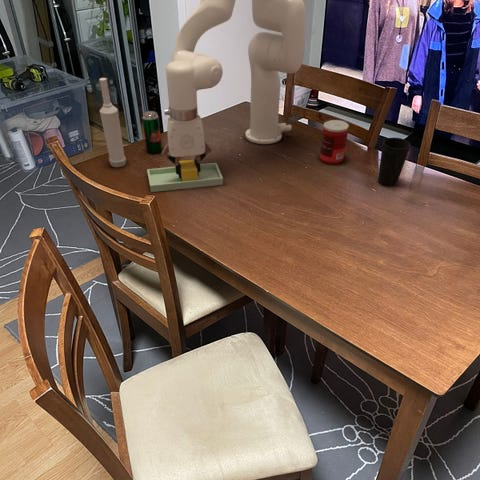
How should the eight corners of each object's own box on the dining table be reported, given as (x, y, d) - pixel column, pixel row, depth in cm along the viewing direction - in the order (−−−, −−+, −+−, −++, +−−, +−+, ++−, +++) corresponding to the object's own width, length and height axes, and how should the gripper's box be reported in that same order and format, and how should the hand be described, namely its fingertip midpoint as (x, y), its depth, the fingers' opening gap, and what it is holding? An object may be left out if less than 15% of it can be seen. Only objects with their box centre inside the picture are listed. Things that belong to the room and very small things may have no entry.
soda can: (153, 155, 155) (148, 118, 146) (143, 150, 157) (138, 113, 149) (165, 150, 157) (161, 113, 149) (155, 146, 160) (150, 109, 151)
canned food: (344, 155, 156) (350, 121, 148) (341, 166, 150) (347, 131, 143) (321, 152, 157) (325, 118, 150) (317, 162, 152) (321, 128, 144)
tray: (216, 168, 148) (216, 162, 147) (223, 184, 141) (222, 178, 140) (147, 175, 145) (147, 169, 143) (151, 192, 138) (150, 185, 136)
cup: (381, 173, 147) (390, 135, 138) (404, 181, 143) (415, 142, 135) (369, 182, 143) (378, 143, 134) (393, 191, 139) (403, 151, 131)
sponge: (194, 172, 145) (193, 159, 143) (198, 182, 140) (197, 169, 138) (179, 173, 145) (178, 160, 142) (182, 184, 140) (181, 171, 137)
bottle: (117, 169, 148) (102, 83, 130) (106, 164, 150) (89, 79, 133) (130, 163, 151) (116, 78, 133) (118, 158, 153) (103, 74, 136)
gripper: (153, 120, 125) (161, 184, 138) (217, 115, 128) (218, 178, 141) (151, 110, 131) (158, 172, 143) (211, 105, 133) (213, 166, 146)
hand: (188, 174), depth 142 cm, fingers closed on sponge, 4 cm apart
